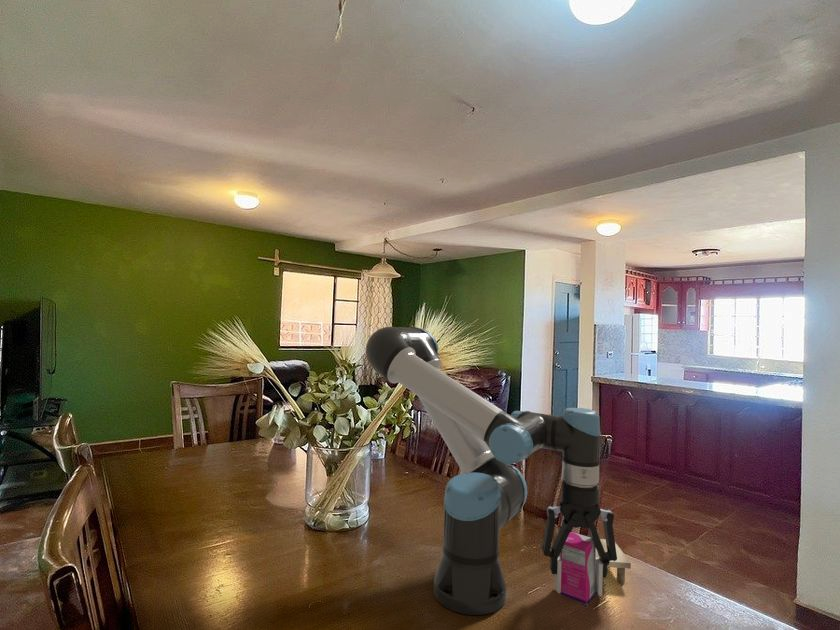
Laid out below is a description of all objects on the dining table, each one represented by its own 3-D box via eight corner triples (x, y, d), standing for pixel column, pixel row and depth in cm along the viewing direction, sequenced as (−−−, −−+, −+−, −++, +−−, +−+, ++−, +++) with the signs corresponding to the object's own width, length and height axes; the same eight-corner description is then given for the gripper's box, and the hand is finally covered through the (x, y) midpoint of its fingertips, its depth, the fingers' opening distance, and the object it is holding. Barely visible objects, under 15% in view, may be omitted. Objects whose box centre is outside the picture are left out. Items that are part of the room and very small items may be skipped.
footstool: (579, 582, 101) (579, 559, 101) (567, 557, 112) (567, 536, 112) (630, 586, 100) (630, 563, 100) (613, 560, 111) (613, 539, 111)
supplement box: (569, 582, 100) (570, 530, 101) (596, 593, 97) (597, 539, 97) (558, 593, 96) (560, 539, 96) (586, 605, 92) (588, 548, 92)
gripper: (534, 485, 94) (531, 596, 93) (637, 491, 92) (634, 604, 92) (528, 473, 101) (525, 576, 101) (623, 479, 100) (621, 584, 99)
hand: (577, 590), depth 96 cm, fingers closed on supplement box, 8 cm apart
